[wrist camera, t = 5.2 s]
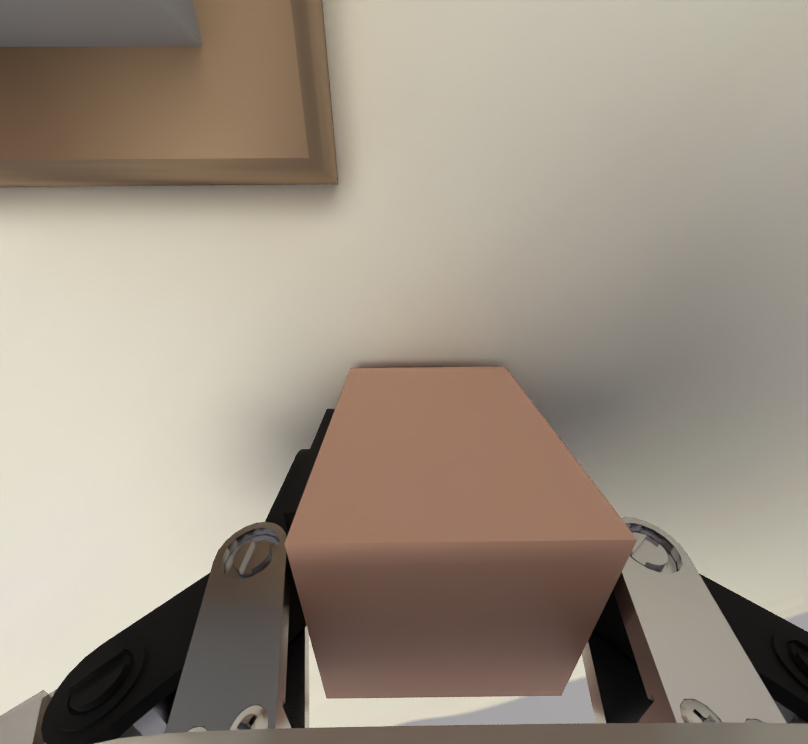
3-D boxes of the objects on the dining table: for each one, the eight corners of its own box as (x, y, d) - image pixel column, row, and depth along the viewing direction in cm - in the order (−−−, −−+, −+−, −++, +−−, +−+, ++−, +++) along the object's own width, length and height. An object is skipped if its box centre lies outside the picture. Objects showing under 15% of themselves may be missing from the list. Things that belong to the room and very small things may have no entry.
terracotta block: (504, 366, 10) (637, 539, 4) (487, 481, 12) (561, 695, 6) (350, 368, 10) (284, 543, 4) (361, 483, 12) (326, 699, 6)
